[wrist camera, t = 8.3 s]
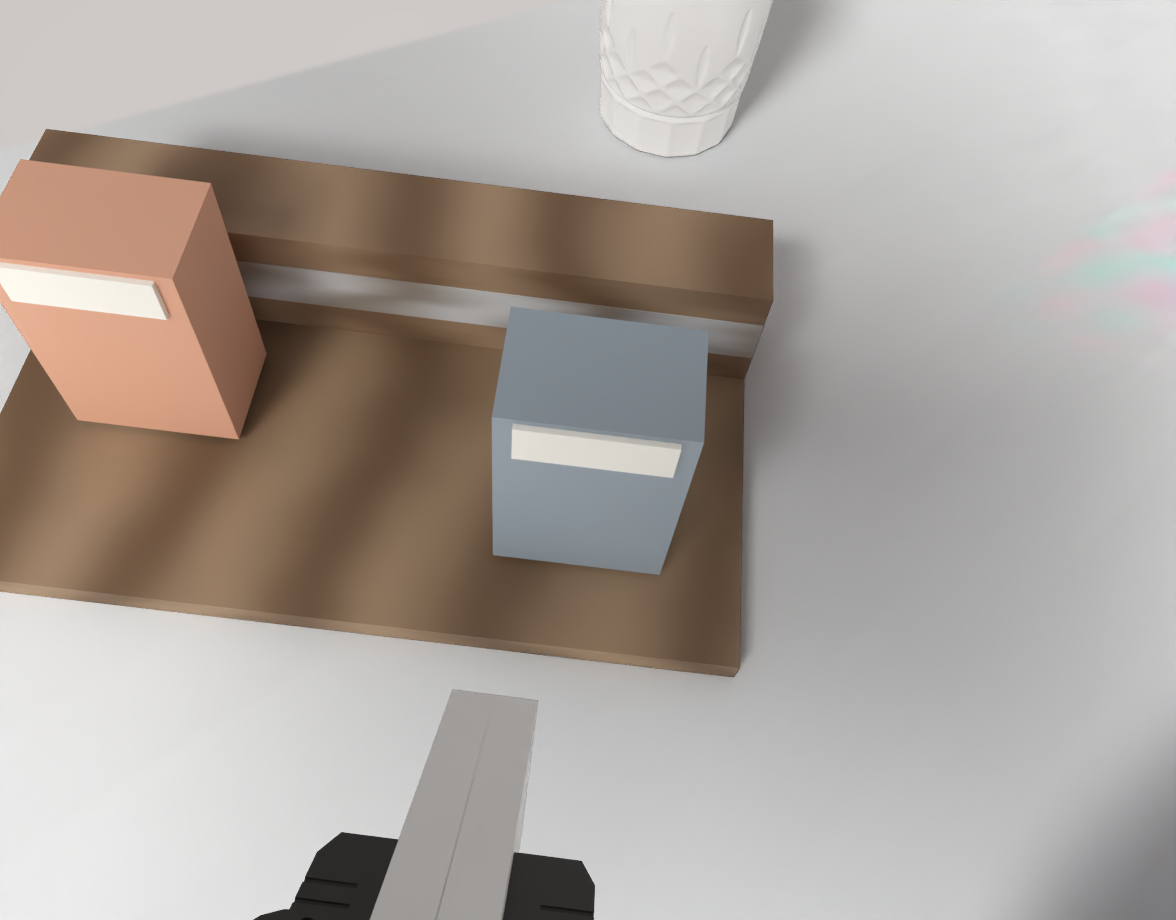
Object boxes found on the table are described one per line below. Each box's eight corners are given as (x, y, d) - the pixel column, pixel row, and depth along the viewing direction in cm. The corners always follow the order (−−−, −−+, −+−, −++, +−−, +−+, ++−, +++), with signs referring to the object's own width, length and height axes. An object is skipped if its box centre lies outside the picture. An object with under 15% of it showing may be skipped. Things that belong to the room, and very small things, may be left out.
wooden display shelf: (-62, 584, 35) (-158, 502, 30) (99, 239, 44) (46, 128, 38) (733, 677, 36) (773, 612, 30) (740, 318, 44) (772, 220, 39)
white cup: (630, 40, 53) (656, -155, 45) (767, 96, 52) (820, -95, 43) (558, 127, 49) (571, -68, 41) (704, 190, 48) (748, 0, 39)
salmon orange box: (75, 424, 37) (-35, 259, 30) (113, 335, 39) (20, 159, 32) (237, 444, 37) (170, 284, 30) (266, 354, 40) (211, 182, 32)
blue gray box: (492, 560, 36) (490, 423, 28) (507, 459, 38) (510, 306, 30) (659, 580, 36) (703, 448, 28) (665, 478, 38) (708, 330, 30)
